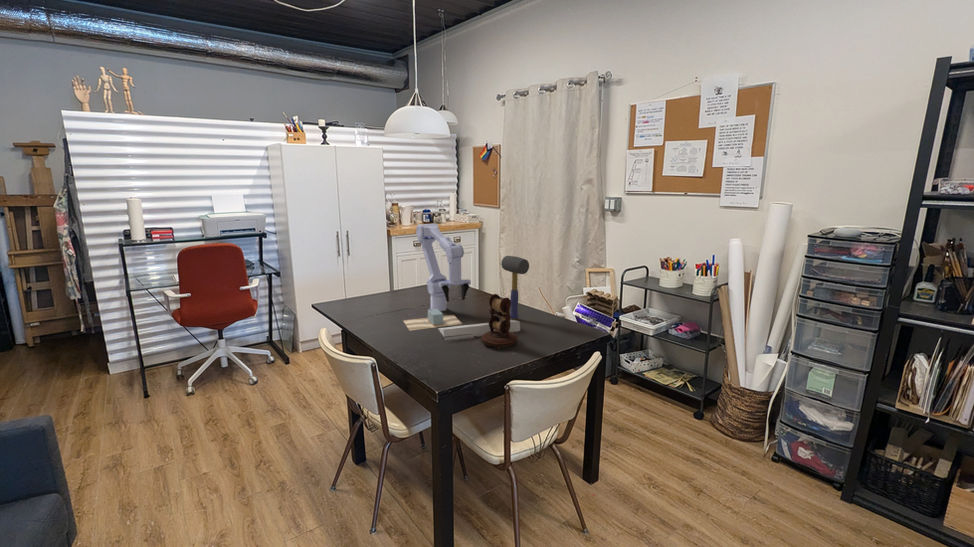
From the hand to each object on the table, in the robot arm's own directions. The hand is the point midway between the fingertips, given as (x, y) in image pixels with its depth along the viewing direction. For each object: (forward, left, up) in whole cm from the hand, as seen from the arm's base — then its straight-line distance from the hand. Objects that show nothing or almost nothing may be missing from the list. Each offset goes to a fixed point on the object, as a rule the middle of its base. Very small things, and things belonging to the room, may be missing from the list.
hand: (455, 300), depth 211 cm
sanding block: (+5, -11, -8) cm, 14 cm away
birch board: (+4, -12, -9) cm, 16 cm away
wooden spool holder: (+34, +8, -10) cm, 36 cm away
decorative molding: (+19, +5, -10) cm, 22 cm away
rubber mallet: (+9, +26, -10) cm, 29 cm away
